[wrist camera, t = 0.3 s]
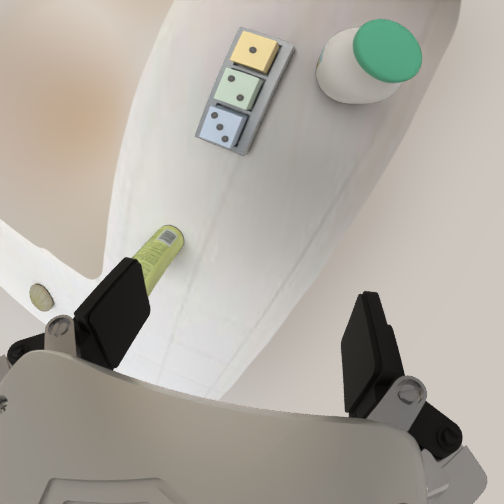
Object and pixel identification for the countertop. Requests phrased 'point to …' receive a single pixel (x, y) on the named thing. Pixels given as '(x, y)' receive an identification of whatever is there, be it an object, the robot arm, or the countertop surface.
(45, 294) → the sea urchin shell
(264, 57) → the single pip yellow cube
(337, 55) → the milk bottle
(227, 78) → the pale green cube
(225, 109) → the blue pip cube
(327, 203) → the countertop surface
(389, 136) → the countertop surface
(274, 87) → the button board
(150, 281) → the tube
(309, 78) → the countertop surface
